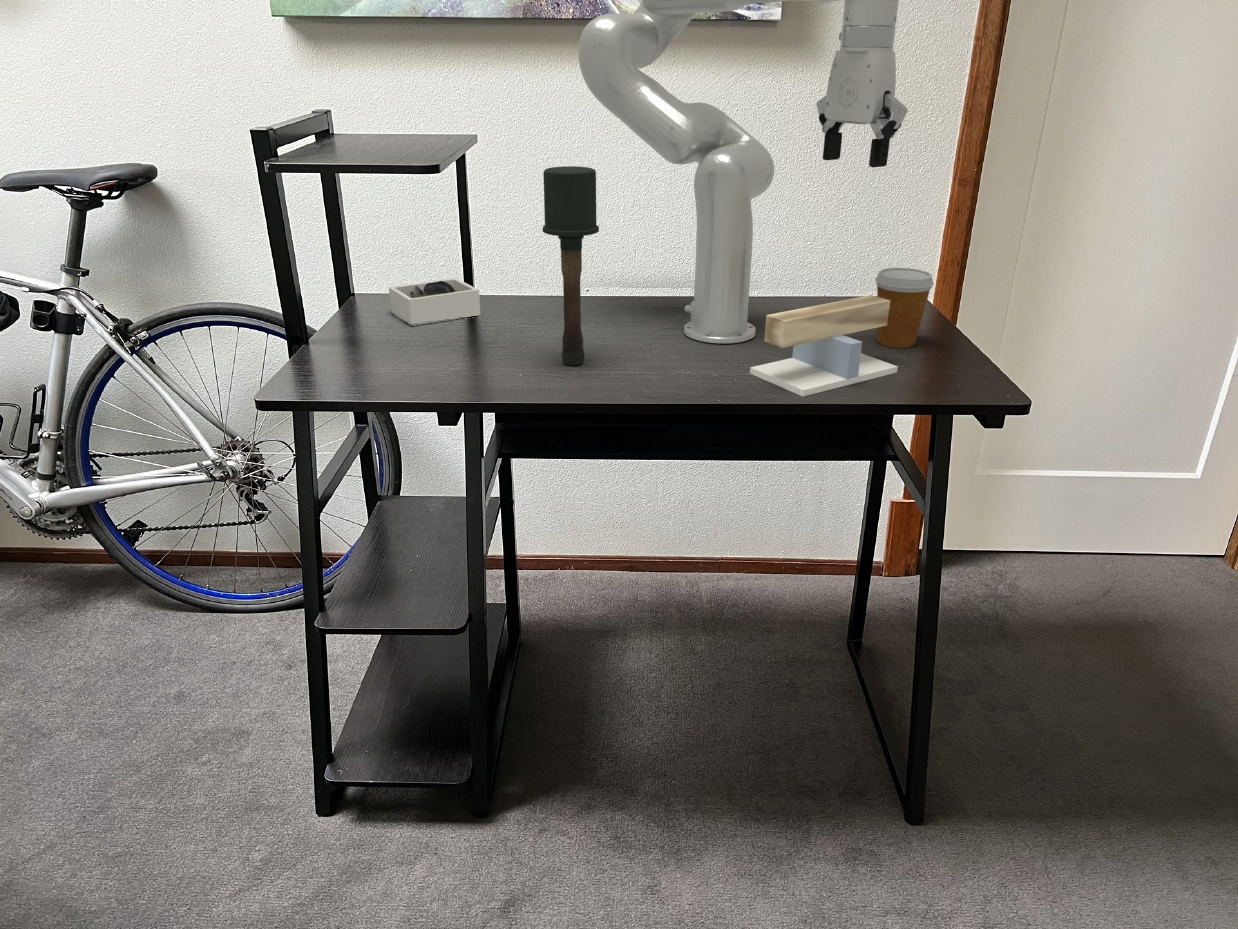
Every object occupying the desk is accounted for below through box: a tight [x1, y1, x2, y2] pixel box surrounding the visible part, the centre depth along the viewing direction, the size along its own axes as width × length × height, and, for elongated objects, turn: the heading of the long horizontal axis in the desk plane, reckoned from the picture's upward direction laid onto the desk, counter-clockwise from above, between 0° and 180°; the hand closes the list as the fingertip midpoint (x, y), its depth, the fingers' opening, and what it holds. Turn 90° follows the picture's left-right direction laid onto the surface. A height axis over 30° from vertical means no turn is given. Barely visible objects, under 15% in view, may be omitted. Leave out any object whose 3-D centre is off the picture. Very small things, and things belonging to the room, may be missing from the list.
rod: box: [763, 294, 890, 349], centre depth 139 cm, size 4×22×4 cm, turn 123°
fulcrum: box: [749, 335, 899, 397], centre depth 142 cm, size 12×20×6 cm, turn 123°
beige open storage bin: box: [388, 277, 482, 324], centre depth 171 cm, size 11×14×5 cm
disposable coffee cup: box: [874, 267, 935, 349], centre depth 155 cm, size 10×10×12 cm
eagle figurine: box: [407, 280, 455, 298], centre depth 171 cm, size 8×7×9 cm
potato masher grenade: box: [542, 165, 600, 366], centre depth 140 cm, size 8×9×30 cm
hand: (853, 163), depth 140 cm, fingers open, 9 cm apart
